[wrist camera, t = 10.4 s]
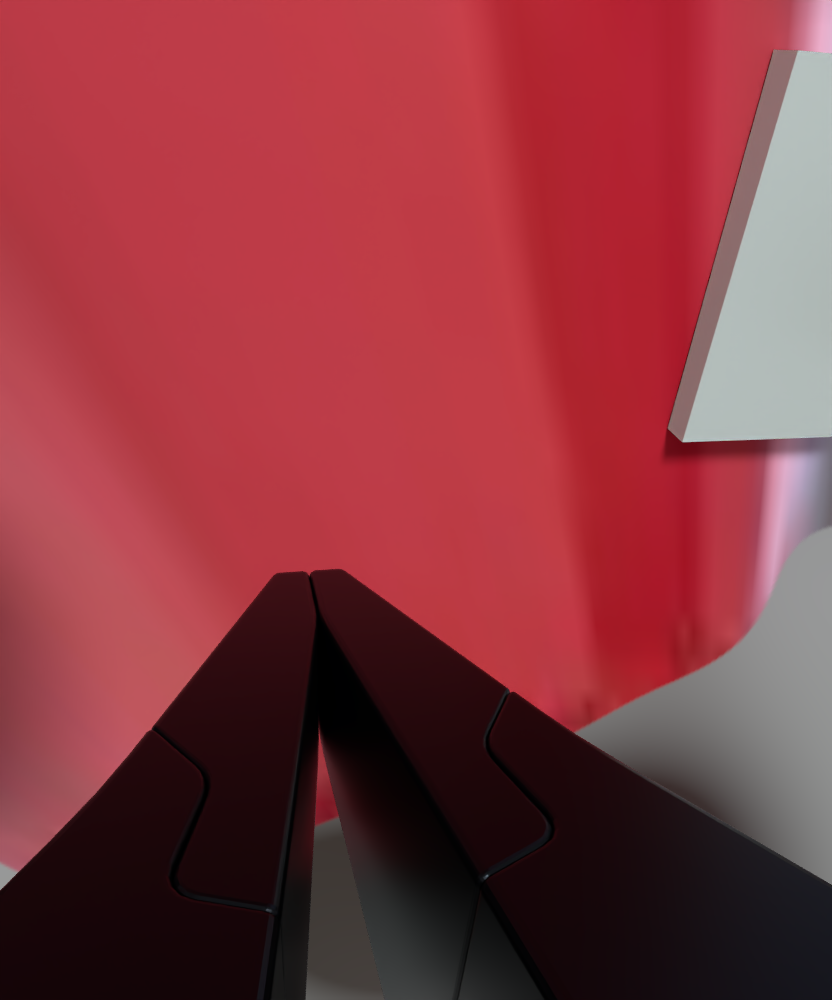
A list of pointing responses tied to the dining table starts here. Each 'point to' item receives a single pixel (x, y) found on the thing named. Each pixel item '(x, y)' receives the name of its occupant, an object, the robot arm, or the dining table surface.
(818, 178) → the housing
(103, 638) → the dining table surface
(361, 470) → the dining table surface
